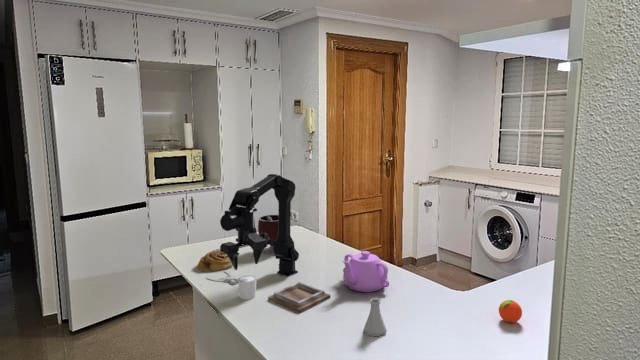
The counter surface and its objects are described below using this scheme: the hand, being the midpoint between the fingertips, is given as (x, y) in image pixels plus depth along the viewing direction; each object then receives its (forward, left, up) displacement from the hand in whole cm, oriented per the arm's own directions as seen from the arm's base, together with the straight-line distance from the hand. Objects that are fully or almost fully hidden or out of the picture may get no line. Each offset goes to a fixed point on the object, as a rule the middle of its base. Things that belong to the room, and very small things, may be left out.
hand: (246, 266), depth 158 cm
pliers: (-5, -20, -12) cm, 24 cm away
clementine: (-43, +79, -12) cm, 91 cm away
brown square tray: (-11, +16, -12) cm, 23 cm away
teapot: (-34, +27, -12) cm, 45 cm away
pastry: (-11, -36, -12) cm, 40 cm away
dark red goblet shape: (-40, -31, -12) cm, 52 cm away
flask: (-10, +50, -12) cm, 52 cm away
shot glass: (0, 0, -12) cm, 12 cm away
